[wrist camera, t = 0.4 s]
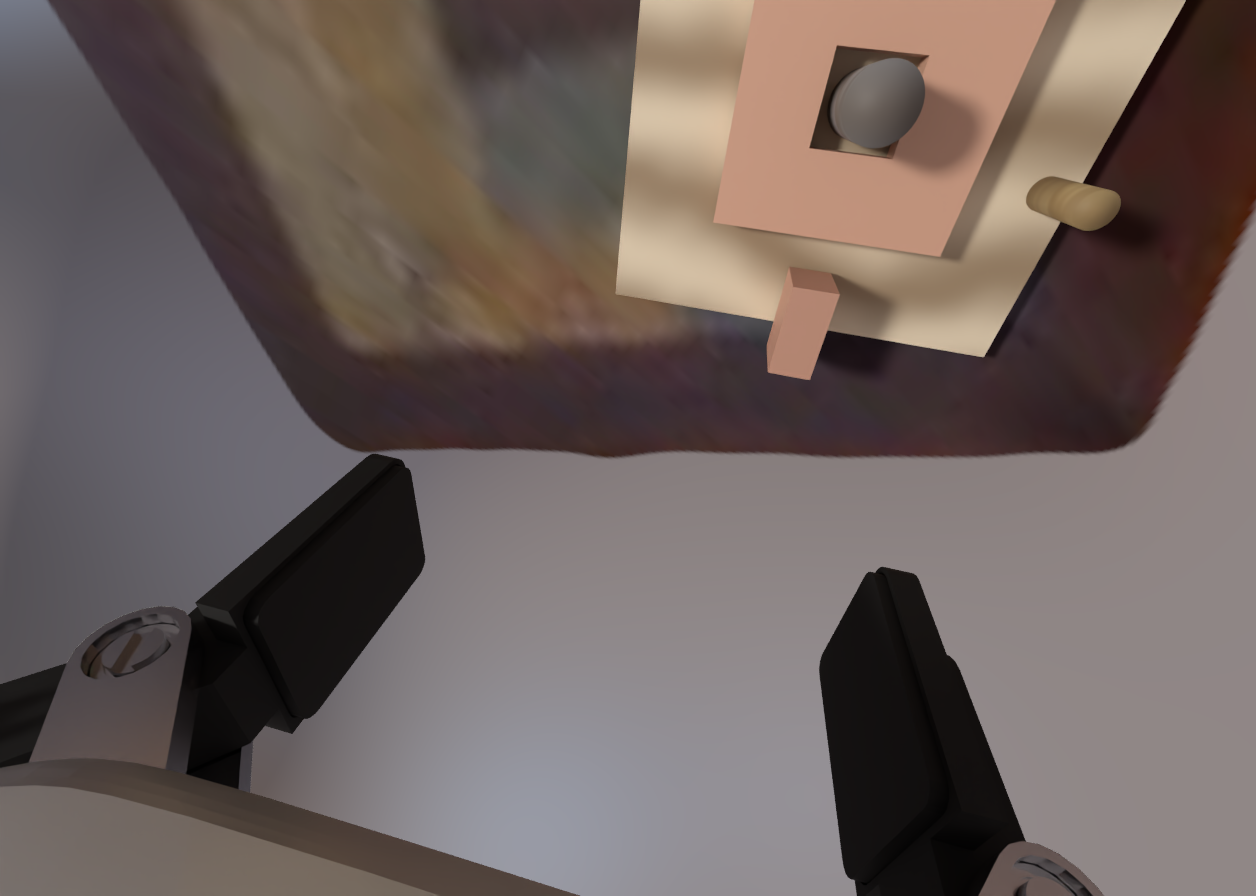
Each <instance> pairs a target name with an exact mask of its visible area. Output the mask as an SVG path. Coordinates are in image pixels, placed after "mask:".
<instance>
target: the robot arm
mask: <svg viewBox="0 0 1256 896" xmlns="http://www.w3.org/2000/svg"><path fill="white" fill-rule="evenodd" d="M424 563H425V554H424V548H423V542H422V536H421V530H420V524H419V518H418V512H417V506H416V500H415V494H414V488H413V482H412V476H411V472H410V470H409V469H408V468H405V465H404V463H403V461H402V460H400V459H396V458H392V457H388V456H383V455H379V454H371V455H369V456H368V457H366V458H365V459H364V460H363V461H362V462H360V463H359V464H358V465H357V466H356V467H355V468H353V469H352V470H351V471H350V472H349V473H347V474H346V475H345V476H344V477H343V478H342V479H340V480H339V481H338V482H337V483H336V484H334V485H333V486H332V487H331V488H330V489H329V490H327V491H326V492H325V493H324V494H323V495H322V496H320V497H319V498H318V499H317V500H316V501H314V502H313V503H312V504H311V505H310V506H309V507H307V508H306V509H305V510H304V511H303V512H301V513H300V514H299V515H298V516H297V517H296V518H295V519H293V520H292V521H291V522H290V523H289V524H287V525H286V526H285V527H284V528H283V529H281V530H280V531H279V532H278V533H277V534H276V535H274V536H273V537H272V538H271V539H270V540H268V541H267V542H266V543H265V544H264V545H263V546H262V547H260V548H259V549H258V550H257V551H255V552H254V553H253V554H252V555H251V556H250V557H249V558H247V559H246V560H245V561H244V562H243V563H241V564H240V565H239V566H238V567H237V568H235V569H234V570H233V571H232V572H231V573H230V574H228V575H227V576H226V577H225V578H224V579H223V580H221V581H220V582H219V583H218V584H217V585H215V587H213V588H212V589H211V590H210V591H208V592H207V593H206V594H205V595H204V596H203V597H201V598H200V599H199V600H198V601H197V602H196V605H197V606H198V607H197V608H195V609H194V610H193V611H192V612H191V613H190V614H189V615H187V613H186V612H185V611H183V610H180V609H178V608H175V607H165V606H158V607H151V608H145V609H141V610H138V611H134V612H132V613H129V614H126V615H123V616H121V617H119V618H117V619H115V620H113V621H111V622H109V623H107V624H105V625H103V626H102V627H101V628H99V629H98V630H96V631H95V632H94V633H92V634H91V635H89V636H88V637H87V638H86V639H85V640H84V641H83V642H82V643H81V644H80V645H79V646H78V647H77V648H76V649H75V650H74V652H73V654H72V655H71V657H70V659H69V660H68V662H67V663H66V664H63V665H60V666H56V667H53V668H50V669H47V670H44V671H41V672H38V673H35V674H31V675H28V676H25V677H22V678H19V679H16V680H13V681H9V682H7V683H3V684H0V896H579V895H576V894H573V893H570V892H567V891H563V890H560V889H557V888H554V887H551V886H547V885H544V884H541V883H538V882H535V881H531V880H529V879H525V878H522V877H519V876H516V875H513V874H510V873H506V872H503V871H500V870H497V869H494V868H491V867H487V866H484V865H481V864H478V863H474V862H471V861H468V860H465V859H462V858H459V857H455V856H453V855H449V854H446V853H443V852H440V851H437V850H433V849H430V848H427V847H424V846H421V845H418V844H415V843H411V842H408V841H405V840H402V839H399V838H395V837H392V836H389V835H386V834H382V833H379V832H376V831H372V830H370V829H366V828H363V827H360V826H357V825H353V824H350V823H347V822H344V821H340V820H337V819H334V818H331V817H327V816H324V815H321V814H318V813H315V812H311V811H308V810H305V809H302V808H299V807H295V806H292V805H289V804H285V803H283V802H279V801H276V800H273V799H270V798H266V797H263V796H260V795H256V794H252V793H250V788H251V771H252V753H253V740H254V738H255V737H256V736H257V735H258V733H259V732H260V731H261V730H262V729H263V727H264V726H265V725H266V726H268V727H271V728H274V729H278V730H281V731H284V732H288V733H291V734H293V732H294V731H295V730H296V728H297V727H298V726H299V724H300V723H301V722H302V720H303V719H308V718H310V717H311V716H313V715H314V714H315V713H316V712H317V711H318V710H319V709H320V707H321V706H322V705H323V703H324V702H325V701H326V699H327V698H328V696H329V695H330V694H331V692H332V691H333V690H334V688H335V687H336V686H337V684H338V683H339V682H340V680H341V679H342V678H343V676H344V675H345V674H346V672H347V671H348V670H349V668H350V667H351V666H352V664H353V663H354V661H355V660H356V659H357V658H358V656H359V655H360V654H361V652H362V651H363V650H364V648H365V647H366V646H367V644H368V643H369V642H370V640H371V639H372V637H373V636H374V635H375V634H376V632H377V631H378V629H379V628H380V627H381V626H382V624H383V623H384V622H385V620H386V619H387V618H388V616H389V615H390V614H391V612H392V611H393V609H394V608H395V607H396V606H397V604H398V603H399V601H400V600H401V599H402V597H403V596H404V595H405V593H406V592H407V591H408V589H409V588H410V587H411V585H412V584H413V583H414V581H415V580H416V579H417V577H418V576H419V575H420V573H421V571H422V569H423V566H424ZM819 673H820V682H821V690H822V697H823V705H824V714H825V722H826V730H827V739H828V746H829V753H830V762H831V771H832V779H833V787H834V795H835V803H836V811H837V819H838V827H839V835H840V843H841V851H842V859H843V865H844V869H845V873H846V875H847V876H848V877H849V878H850V879H853V880H855V885H856V892H857V896H1104V895H1103V894H1102V892H1101V891H1100V890H1099V888H1098V887H1097V886H1096V885H1095V884H1094V883H1093V882H1092V881H1091V880H1090V879H1089V878H1088V877H1087V876H1086V875H1085V874H1084V873H1083V872H1082V871H1081V870H1080V869H1079V868H1077V867H1076V866H1075V865H1073V864H1072V863H1071V862H1069V861H1068V860H1067V859H1065V858H1064V857H1062V856H1061V855H1060V854H1058V853H1056V852H1054V851H1052V850H1050V849H1048V848H1046V847H1044V846H1042V845H1039V844H1035V843H1029V842H1026V841H1025V838H1024V836H1023V833H1022V830H1021V828H1020V825H1019V823H1018V820H1017V818H1016V815H1015V812H1014V810H1013V807H1012V804H1011V802H1010V799H1009V797H1008V794H1007V792H1006V789H1005V786H1004V784H1003V781H1002V778H1001V776H1000V773H999V771H998V768H997V765H996V763H995V760H994V758H993V755H992V753H991V750H990V748H989V745H988V742H987V740H986V737H985V734H984V732H983V729H982V726H981V724H980V721H979V719H978V716H977V714H976V711H975V709H974V706H973V703H972V700H971V698H970V696H969V693H968V690H967V688H966V685H965V682H964V680H963V677H962V675H961V672H960V670H959V668H958V666H957V664H956V662H955V661H954V660H953V659H952V658H951V657H950V656H948V655H947V654H946V652H945V649H944V646H943V644H942V641H941V638H940V636H939V633H938V630H937V627H936V625H935V622H934V619H933V617H932V614H931V611H930V608H929V606H928V603H927V601H926V598H925V595H924V592H923V590H922V587H921V584H920V581H919V579H918V578H917V576H916V575H914V574H912V573H908V572H904V571H899V570H895V569H890V568H886V567H880V568H879V569H878V570H877V571H876V573H873V572H868V573H867V574H866V575H865V577H864V579H863V580H862V582H861V584H860V586H859V588H858V590H857V592H856V594H855V595H854V597H853V599H852V601H851V603H850V605H849V606H848V608H847V610H846V612H845V614H844V615H843V617H842V619H841V621H840V623H839V625H838V627H837V628H836V630H835V632H834V634H833V636H832V638H831V639H830V641H829V643H828V645H827V647H826V649H825V650H824V652H823V654H822V657H821V660H820V667H819Z"/></svg>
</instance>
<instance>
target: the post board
mask: <svg viewBox="0 0 1256 896" xmlns="http://www.w3.org/2000/svg"><path fill="white" fill-rule="evenodd" d="M1185 1H1186V0H1056V1H1055V4H1054V6H1053V8H1052V10H1051V12H1050V15H1049V17H1048V19H1047V21H1046V23H1045V26H1044V28H1043V30H1042V32H1041V35H1040V37H1039V39H1038V41H1037V43H1036V46H1035V48H1034V50H1033V52H1032V54H1031V57H1030V59H1029V61H1028V63H1027V65H1026V68H1025V70H1024V72H1023V74H1022V77H1021V79H1020V81H1019V83H1018V85H1017V88H1016V90H1015V92H1014V94H1013V96H1012V99H1011V101H1010V103H1009V105H1008V108H1007V110H1006V112H1005V114H1004V116H1003V119H1002V121H1001V123H1000V125H999V127H998V130H997V132H996V134H995V136H994V139H993V141H992V143H991V145H990V147H989V150H988V152H987V154H986V156H985V158H984V161H983V163H982V165H981V167H980V169H979V172H978V174H977V176H976V178H975V181H974V183H973V185H972V187H971V189H970V192H969V194H968V196H967V198H966V200H965V203H964V205H963V207H962V209H961V212H960V214H959V216H958V218H957V220H956V223H955V225H954V227H953V229H952V231H951V234H950V236H949V238H948V240H947V242H946V245H945V247H944V249H943V251H942V254H941V256H940V257H938V256H931V255H924V254H918V253H911V252H905V251H898V250H891V249H885V248H878V247H872V246H865V245H858V244H852V243H845V242H839V241H832V240H826V239H819V238H812V237H806V236H799V235H793V234H786V233H779V232H773V231H766V230H760V229H753V228H746V227H740V226H733V225H727V224H720V223H713V221H714V215H715V210H716V204H717V199H718V194H719V188H720V183H721V178H722V172H723V167H724V161H725V156H726V151H727V145H728V140H729V134H730V129H731V124H732V118H733V113H734V108H735V102H736V97H737V91H738V86H739V81H740V75H741V70H742V65H743V59H744V54H745V48H746V43H747V38H748V32H749V27H750V22H751V16H752V11H753V5H754V0H641V2H640V14H639V26H638V38H637V49H636V61H635V73H634V84H633V96H632V108H631V119H630V131H629V143H628V154H627V166H626V178H625V190H624V201H623V213H622V225H621V236H620V248H619V260H618V271H617V283H616V294H619V295H625V296H630V297H636V298H642V299H648V300H654V301H660V302H665V303H671V304H677V305H683V306H689V307H694V308H700V309H706V310H712V311H718V312H724V313H729V314H735V315H741V316H747V317H753V318H758V319H764V320H770V321H774V318H775V315H776V311H777V308H778V304H779V301H780V297H781V294H782V290H783V287H784V283H785V280H786V276H787V273H788V269H789V267H795V268H801V269H808V270H814V271H820V272H827V273H831V275H832V277H833V279H834V282H835V284H836V286H837V289H838V291H839V294H840V296H839V299H838V301H837V304H836V307H835V310H834V313H833V316H832V318H831V321H830V324H829V327H828V331H834V332H840V333H846V334H851V335H857V336H863V337H869V338H875V339H881V340H886V341H892V342H898V343H904V344H910V345H915V346H921V347H927V348H933V349H939V350H945V351H950V352H956V353H962V354H968V355H974V356H979V357H984V356H985V354H986V352H987V351H988V349H989V347H990V345H991V344H992V342H993V340H994V338H995V337H996V335H997V333H998V331H999V329H1000V328H1001V326H1002V324H1003V322H1004V321H1005V319H1006V317H1007V315H1008V314H1009V312H1010V310H1011V308H1012V307H1013V305H1014V303H1015V301H1016V299H1017V298H1018V296H1019V294H1020V292H1021V291H1022V289H1023V287H1024V285H1025V284H1026V282H1027V280H1028V278H1029V277H1030V275H1031V273H1032V271H1033V270H1034V268H1035V266H1036V264H1037V262H1038V261H1039V259H1040V257H1041V255H1042V254H1043V252H1044V250H1045V248H1046V247H1047V245H1048V243H1049V241H1050V240H1051V238H1052V236H1053V234H1054V232H1055V231H1056V229H1057V227H1058V225H1059V224H1060V222H1063V223H1066V224H1068V225H1071V226H1073V227H1076V228H1078V229H1081V230H1084V231H1092V230H1096V229H1099V228H1101V227H1103V226H1105V225H1107V224H1108V223H1109V222H1110V221H1112V220H1113V219H1114V217H1115V216H1116V215H1117V213H1118V211H1119V209H1120V206H1121V200H1120V197H1119V195H1118V194H1117V193H1116V192H1114V191H1111V190H1107V189H1103V188H1099V187H1095V186H1091V185H1087V184H1083V181H1084V180H1085V178H1086V176H1087V174H1088V172H1089V171H1090V169H1091V167H1092V165H1093V164H1094V162H1095V160H1096V158H1097V157H1098V155H1099V153H1100V151H1101V150H1102V148H1103V146H1104V144H1105V142H1106V141H1107V139H1108V137H1109V135H1110V134H1111V132H1112V130H1113V128H1114V127H1115V125H1116V123H1117V121H1118V120H1119V118H1120V116H1121V114H1122V112H1123V111H1124V109H1125V107H1126V105H1127V104H1128V102H1129V100H1130V98H1131V97H1132V95H1133V93H1134V91H1135V90H1136V88H1137V86H1138V84H1139V83H1140V81H1141V79H1142V77H1143V75H1144V74H1145V72H1146V70H1147V68H1148V67H1149V65H1150V63H1151V61H1152V60H1153V58H1154V56H1155V54H1156V53H1157V51H1158V49H1159V47H1160V45H1161V44H1162V42H1163V40H1164V38H1165V37H1166V35H1167V33H1168V31H1169V30H1170V28H1171V26H1172V24H1173V23H1174V21H1175V19H1176V17H1177V15H1178V14H1179V12H1180V10H1181V8H1182V7H1183V5H1184V3H1185ZM920 60H921V57H911V56H902V55H893V54H884V53H875V52H865V51H856V50H847V49H838V48H836V51H835V54H834V58H833V62H832V66H831V69H830V73H829V77H828V80H827V84H826V88H825V92H824V95H823V99H822V103H821V106H820V110H819V114H818V117H817V121H816V125H815V129H814V132H813V136H812V140H811V143H810V147H816V148H824V149H831V150H839V151H846V152H854V153H862V154H869V155H877V156H885V157H887V154H888V151H889V148H890V145H891V144H892V143H894V142H896V141H897V140H899V139H900V138H902V137H903V136H904V135H905V134H906V133H907V132H908V131H909V130H910V129H911V128H912V126H913V125H914V124H915V122H916V121H917V119H918V117H919V115H920V113H921V110H922V107H923V104H924V99H925V84H924V79H923V77H922V74H921V72H920V71H919V69H918V66H919V63H920Z"/></svg>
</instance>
